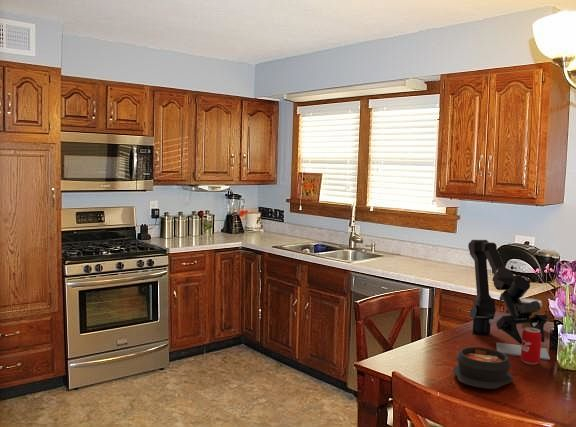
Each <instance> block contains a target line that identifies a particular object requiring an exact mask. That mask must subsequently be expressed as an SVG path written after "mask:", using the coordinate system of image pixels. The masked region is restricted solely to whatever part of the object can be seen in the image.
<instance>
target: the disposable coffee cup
mask: <svg viewBox="0 0 576 427" xmlns="http://www.w3.org/2000/svg"><path fill="white" fill-rule="evenodd" d="M520 300H521V302H522V303H531V302H533V301H538V302H539V304H540V307H541V308H540V309H539V310H538V312H533V313H532V315H531V316H529V318H532V317H534V316H535V315H536V314H541V310H542V306H543V302H542V300H540V299H537V298H530V297H521V298H520ZM520 325H521V327H522V328H523V329H524V328H527V327H531V328H533V327H532V326H531V325H530V323H528V324H520Z"/></svg>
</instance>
